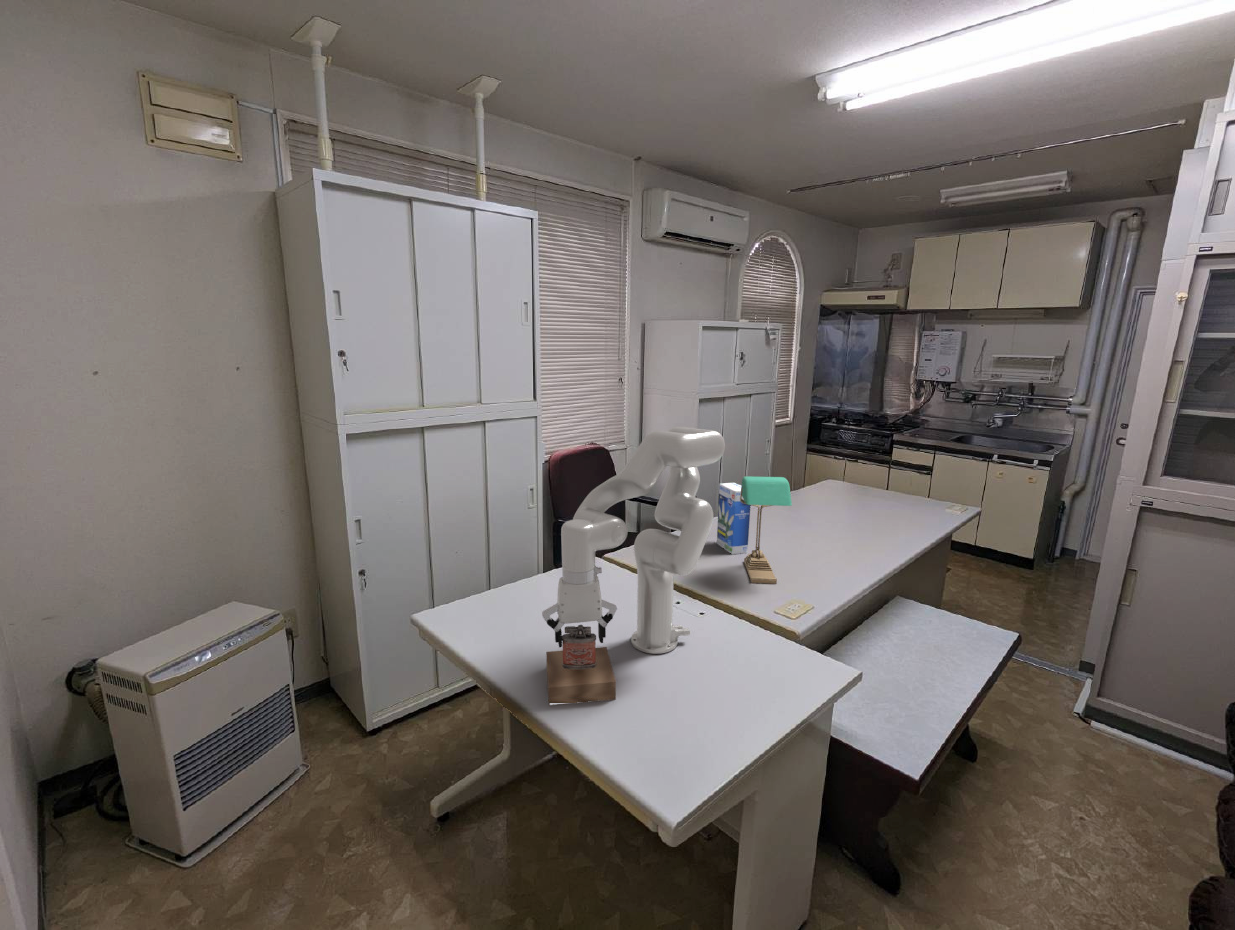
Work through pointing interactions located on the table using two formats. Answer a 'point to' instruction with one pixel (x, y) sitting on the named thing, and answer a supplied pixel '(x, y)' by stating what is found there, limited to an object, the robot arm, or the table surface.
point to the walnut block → (580, 679)
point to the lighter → (579, 648)
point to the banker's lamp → (756, 494)
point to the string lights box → (732, 519)
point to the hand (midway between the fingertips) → (580, 642)
